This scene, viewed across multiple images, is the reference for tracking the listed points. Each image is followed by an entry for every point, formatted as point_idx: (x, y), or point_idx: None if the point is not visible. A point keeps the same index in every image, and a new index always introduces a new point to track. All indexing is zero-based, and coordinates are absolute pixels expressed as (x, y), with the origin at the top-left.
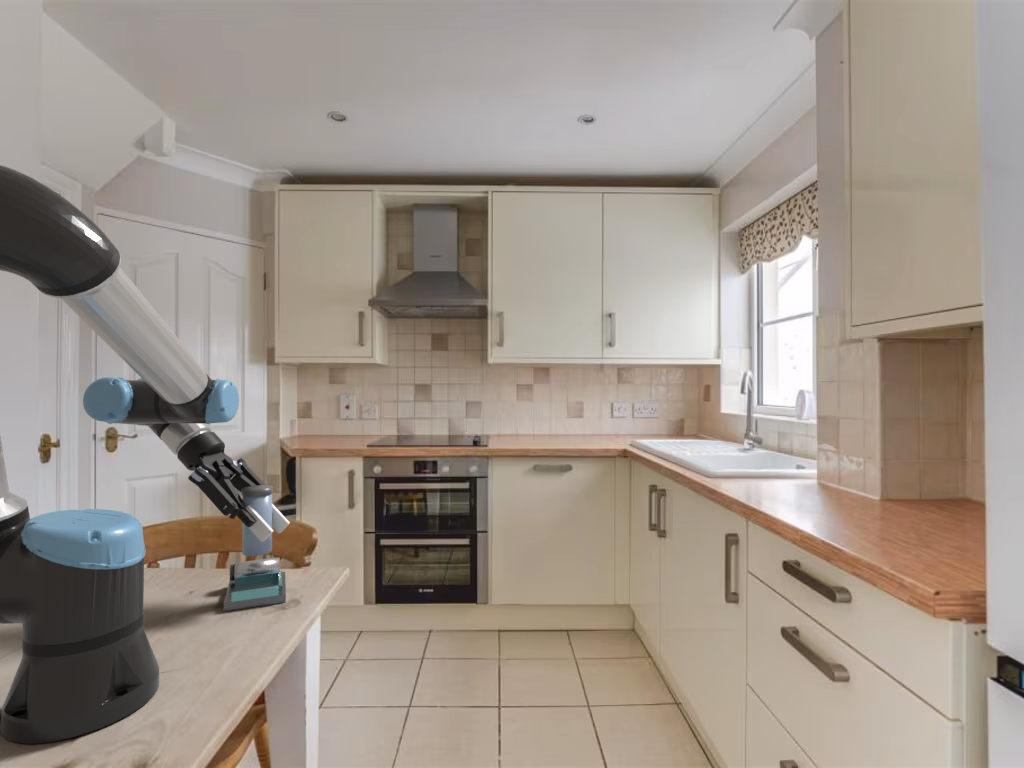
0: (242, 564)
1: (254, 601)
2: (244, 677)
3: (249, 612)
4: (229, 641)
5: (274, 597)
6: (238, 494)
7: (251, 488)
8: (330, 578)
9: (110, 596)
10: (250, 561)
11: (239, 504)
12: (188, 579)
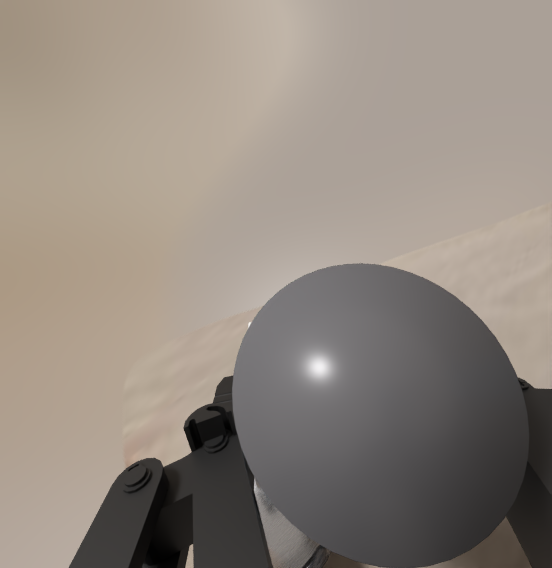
0: (296, 529)
1: None
2: (535, 228)
3: None
4: (489, 322)
5: None
6: (540, 474)
7: (419, 414)
8: (188, 348)
9: None
10: (273, 515)
11: (535, 393)
12: None
